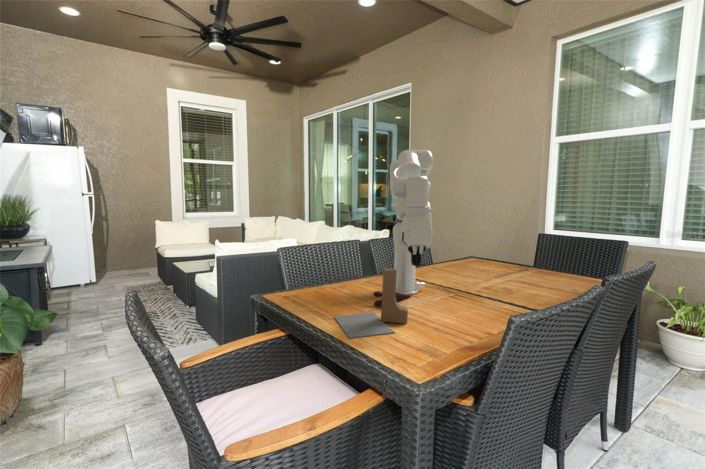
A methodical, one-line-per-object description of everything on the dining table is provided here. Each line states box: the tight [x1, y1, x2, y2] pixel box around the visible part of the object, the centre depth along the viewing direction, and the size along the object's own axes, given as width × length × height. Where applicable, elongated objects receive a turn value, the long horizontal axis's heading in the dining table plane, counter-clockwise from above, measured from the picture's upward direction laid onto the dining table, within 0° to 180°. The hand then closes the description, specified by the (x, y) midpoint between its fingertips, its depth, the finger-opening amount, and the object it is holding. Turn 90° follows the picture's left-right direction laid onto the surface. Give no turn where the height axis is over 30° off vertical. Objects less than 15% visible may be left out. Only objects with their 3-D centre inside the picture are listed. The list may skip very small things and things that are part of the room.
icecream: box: [372, 290, 412, 307], centre depth 141 cm, size 7×7×15 cm
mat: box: [333, 311, 396, 339], centre depth 120 cm, size 15×20×1 cm
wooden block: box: [380, 267, 409, 324], centre depth 123 cm, size 9×4×18 cm, turn 83°
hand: (416, 265), depth 123 cm, fingers closed
